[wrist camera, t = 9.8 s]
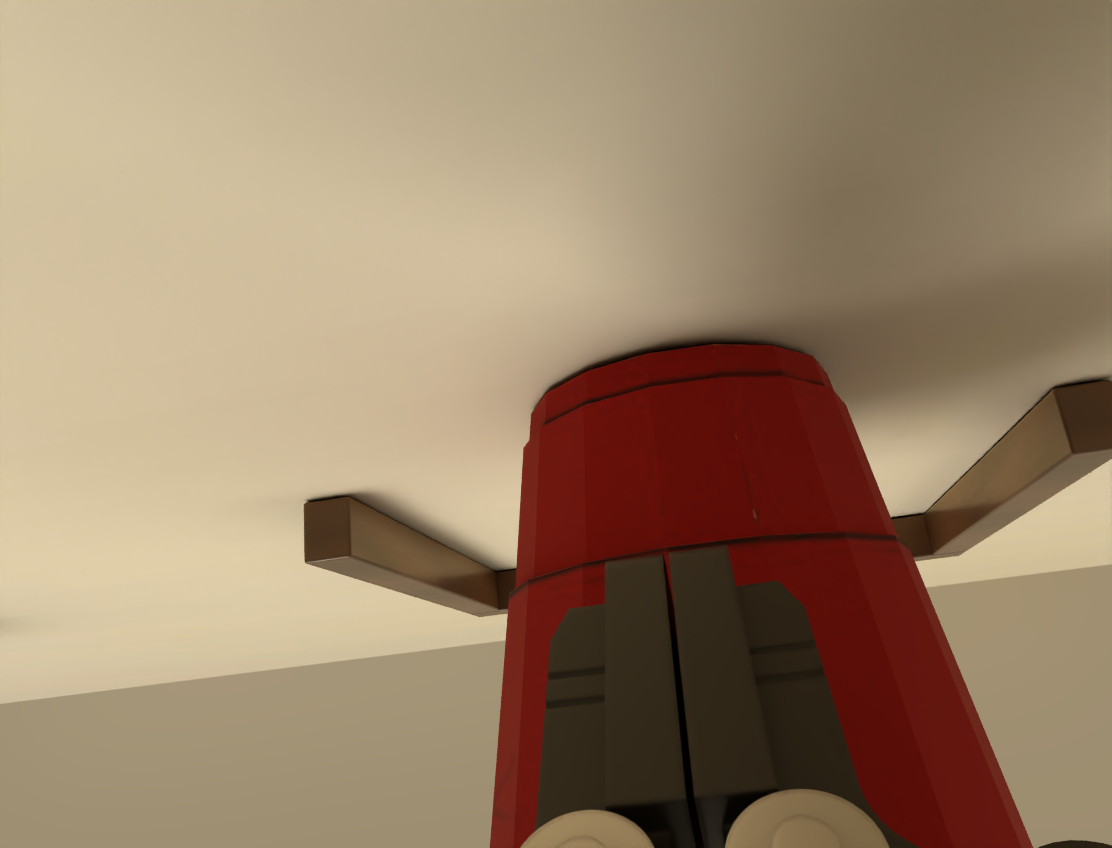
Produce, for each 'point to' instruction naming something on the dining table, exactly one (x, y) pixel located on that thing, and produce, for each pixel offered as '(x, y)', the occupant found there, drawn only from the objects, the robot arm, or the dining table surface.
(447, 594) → the frame
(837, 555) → the plastic cup
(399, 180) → the dining table surface
